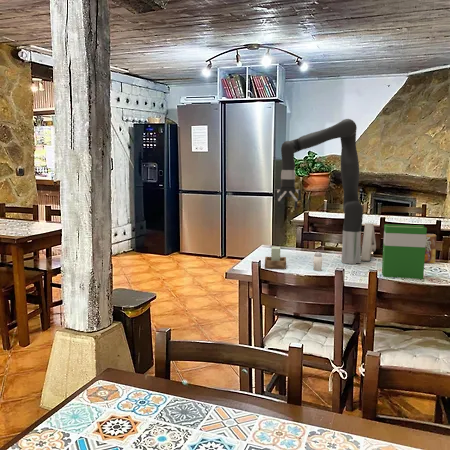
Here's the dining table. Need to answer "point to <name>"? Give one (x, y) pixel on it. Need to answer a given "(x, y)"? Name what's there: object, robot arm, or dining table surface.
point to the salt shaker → (318, 261)
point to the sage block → (275, 253)
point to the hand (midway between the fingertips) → (287, 208)
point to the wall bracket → (368, 242)
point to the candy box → (430, 248)
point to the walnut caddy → (275, 263)
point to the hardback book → (404, 251)
